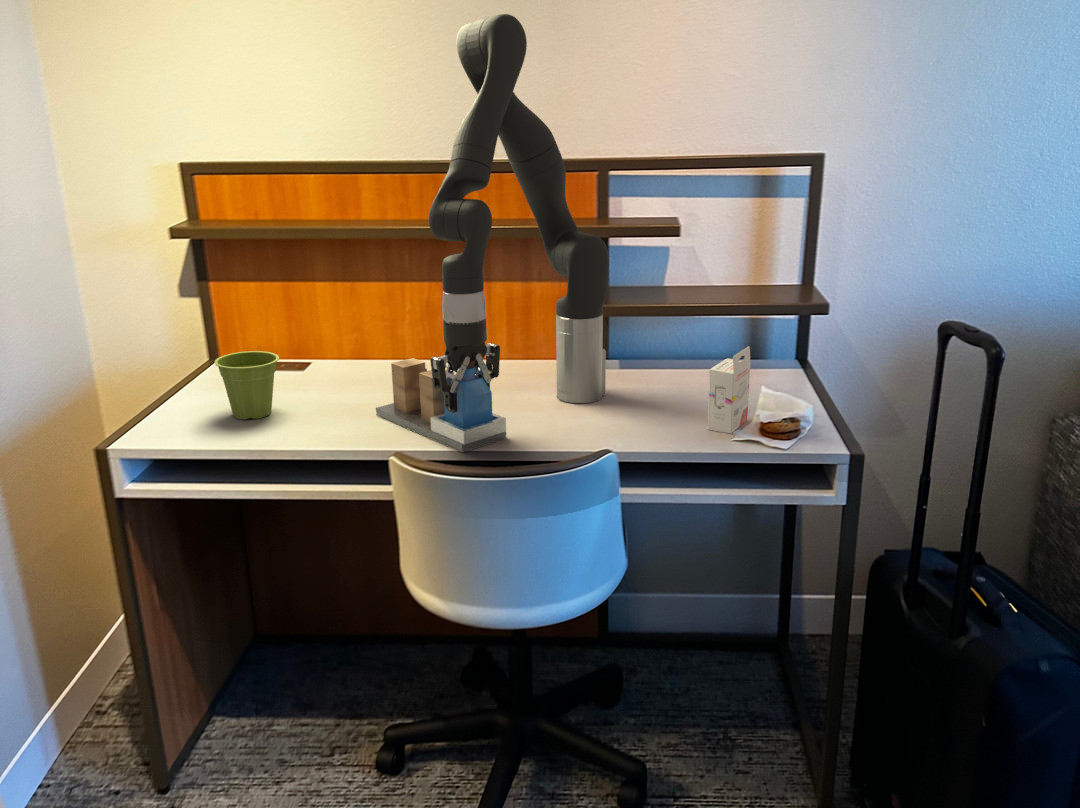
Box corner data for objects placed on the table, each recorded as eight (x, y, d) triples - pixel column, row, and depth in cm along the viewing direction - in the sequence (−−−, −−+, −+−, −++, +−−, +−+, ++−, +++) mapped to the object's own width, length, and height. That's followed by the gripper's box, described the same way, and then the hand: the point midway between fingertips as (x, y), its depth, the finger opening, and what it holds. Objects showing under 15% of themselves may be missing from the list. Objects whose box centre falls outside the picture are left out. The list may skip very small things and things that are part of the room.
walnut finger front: (445, 412, 181) (443, 367, 178) (458, 417, 178) (456, 371, 175) (421, 419, 177) (418, 373, 174) (434, 424, 174) (431, 377, 172)
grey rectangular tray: (418, 403, 191) (417, 384, 189) (507, 438, 171) (506, 417, 170) (376, 415, 184) (375, 395, 183) (463, 453, 165) (462, 431, 164)
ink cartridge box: (723, 416, 181) (727, 341, 177) (747, 420, 179) (752, 345, 174) (705, 429, 175) (709, 352, 170) (731, 434, 172) (735, 356, 167)
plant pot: (268, 426, 179) (261, 369, 175) (210, 422, 181) (202, 366, 178) (294, 405, 190) (289, 351, 186) (239, 403, 192) (233, 349, 189)
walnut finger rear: (417, 401, 187) (415, 357, 184) (429, 406, 184) (427, 361, 181) (394, 407, 184) (391, 363, 181) (406, 412, 181) (403, 367, 178)
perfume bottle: (492, 424, 170) (490, 360, 166) (463, 432, 167) (460, 366, 163) (474, 415, 175) (472, 352, 171) (445, 422, 171) (442, 358, 168)
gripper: (482, 305, 171) (485, 393, 177) (417, 319, 162) (422, 411, 168) (510, 312, 166) (512, 402, 172) (444, 327, 157) (448, 421, 163)
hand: (468, 406), depth 170 cm, fingers closed on perfume bottle, 6 cm apart
